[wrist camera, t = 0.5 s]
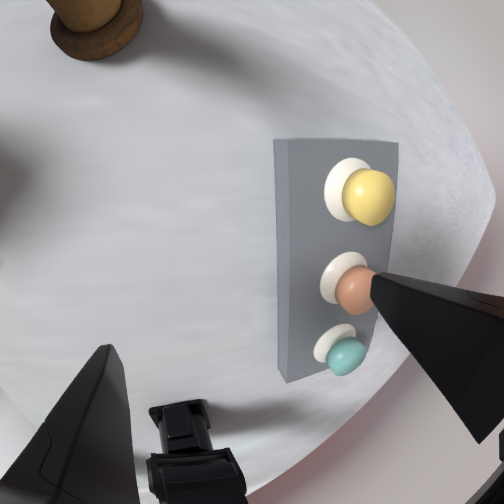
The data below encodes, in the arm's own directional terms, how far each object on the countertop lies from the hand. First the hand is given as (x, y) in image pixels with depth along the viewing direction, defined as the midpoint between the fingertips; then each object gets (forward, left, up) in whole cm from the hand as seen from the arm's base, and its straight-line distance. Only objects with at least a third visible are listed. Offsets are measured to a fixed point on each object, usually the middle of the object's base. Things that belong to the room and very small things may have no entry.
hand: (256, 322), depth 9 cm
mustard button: (+1, -12, -10) cm, 15 cm away
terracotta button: (-7, -12, -10) cm, 17 cm away
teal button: (-15, -12, -10) cm, 22 cm away
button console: (-7, -12, -14) cm, 20 cm away
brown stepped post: (+16, +6, -14) cm, 22 cm away
